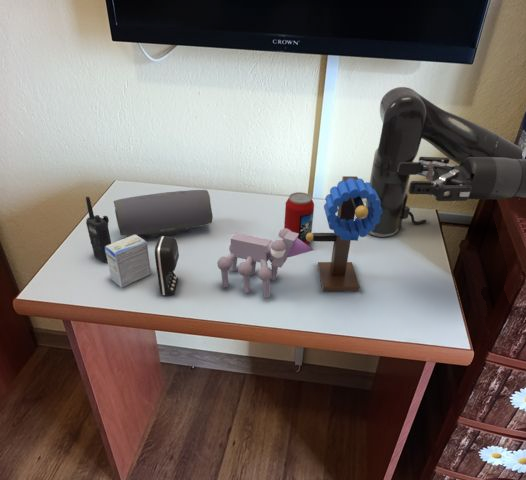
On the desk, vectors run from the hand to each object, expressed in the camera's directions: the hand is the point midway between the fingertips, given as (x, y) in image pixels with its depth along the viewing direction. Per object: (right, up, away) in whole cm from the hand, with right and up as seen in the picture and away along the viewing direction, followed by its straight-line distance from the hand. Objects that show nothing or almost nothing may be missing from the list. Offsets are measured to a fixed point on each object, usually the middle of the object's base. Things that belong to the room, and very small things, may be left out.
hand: (403, 177), depth 94 cm
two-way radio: (-63, -10, +25) cm, 69 cm away
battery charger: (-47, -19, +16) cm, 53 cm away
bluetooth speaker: (-51, -2, +34) cm, 61 cm away
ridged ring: (-9, -9, +8) cm, 15 cm away
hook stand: (-11, -19, +18) cm, 28 cm away
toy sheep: (-26, -18, +17) cm, 36 cm away
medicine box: (-56, -16, +19) cm, 61 cm away
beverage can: (-18, -6, +32) cm, 37 cm away
